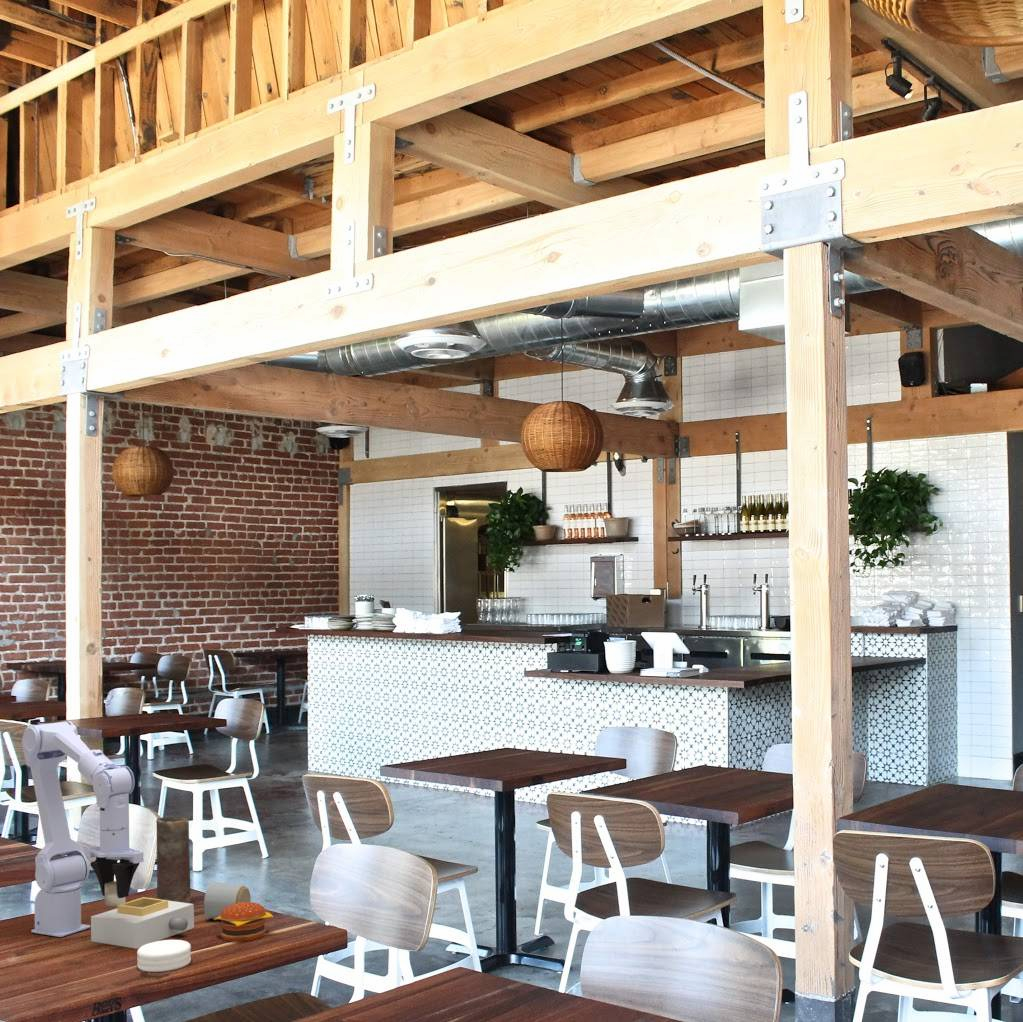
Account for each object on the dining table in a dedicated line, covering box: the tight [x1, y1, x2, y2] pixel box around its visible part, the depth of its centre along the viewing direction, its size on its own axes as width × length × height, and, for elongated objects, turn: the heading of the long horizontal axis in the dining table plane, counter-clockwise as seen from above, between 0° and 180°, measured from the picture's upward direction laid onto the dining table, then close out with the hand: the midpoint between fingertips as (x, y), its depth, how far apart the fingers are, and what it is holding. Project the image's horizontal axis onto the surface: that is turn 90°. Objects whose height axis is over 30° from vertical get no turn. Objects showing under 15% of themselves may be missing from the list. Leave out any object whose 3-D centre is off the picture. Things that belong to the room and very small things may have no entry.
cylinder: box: [104, 880, 127, 907], centre depth 248 cm, size 4×4×4 cm
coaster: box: [136, 939, 192, 973], centre depth 234 cm, size 10×10×4 cm
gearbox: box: [90, 896, 195, 950], centre depth 255 cm, size 16×16×6 cm
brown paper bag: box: [156, 816, 192, 903], centre depth 277 cm, size 8×7×20 cm
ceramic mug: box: [203, 881, 252, 920], centre depth 268 cm, size 11×8×8 cm
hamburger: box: [213, 901, 274, 943], centre depth 252 cm, size 9×10×7 cm
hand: (115, 895), depth 248 cm, fingers closed on cylinder, 4 cm apart
